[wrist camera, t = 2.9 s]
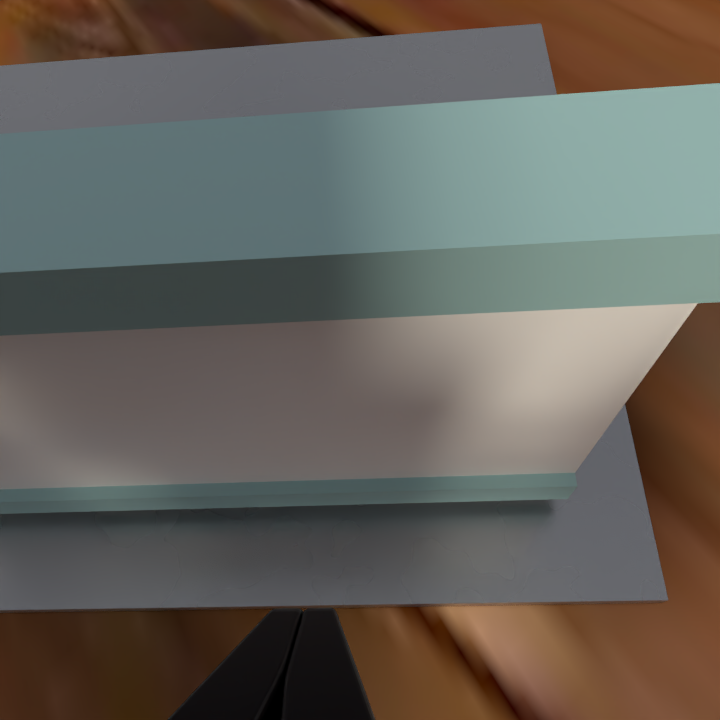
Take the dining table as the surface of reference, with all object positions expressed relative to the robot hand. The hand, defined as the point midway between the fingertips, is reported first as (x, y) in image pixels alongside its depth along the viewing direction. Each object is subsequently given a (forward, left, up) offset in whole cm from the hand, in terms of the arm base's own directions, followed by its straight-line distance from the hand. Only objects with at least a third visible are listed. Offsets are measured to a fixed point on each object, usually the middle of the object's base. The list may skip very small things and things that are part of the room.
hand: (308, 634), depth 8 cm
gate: (+2, +5, -6) cm, 8 cm away
